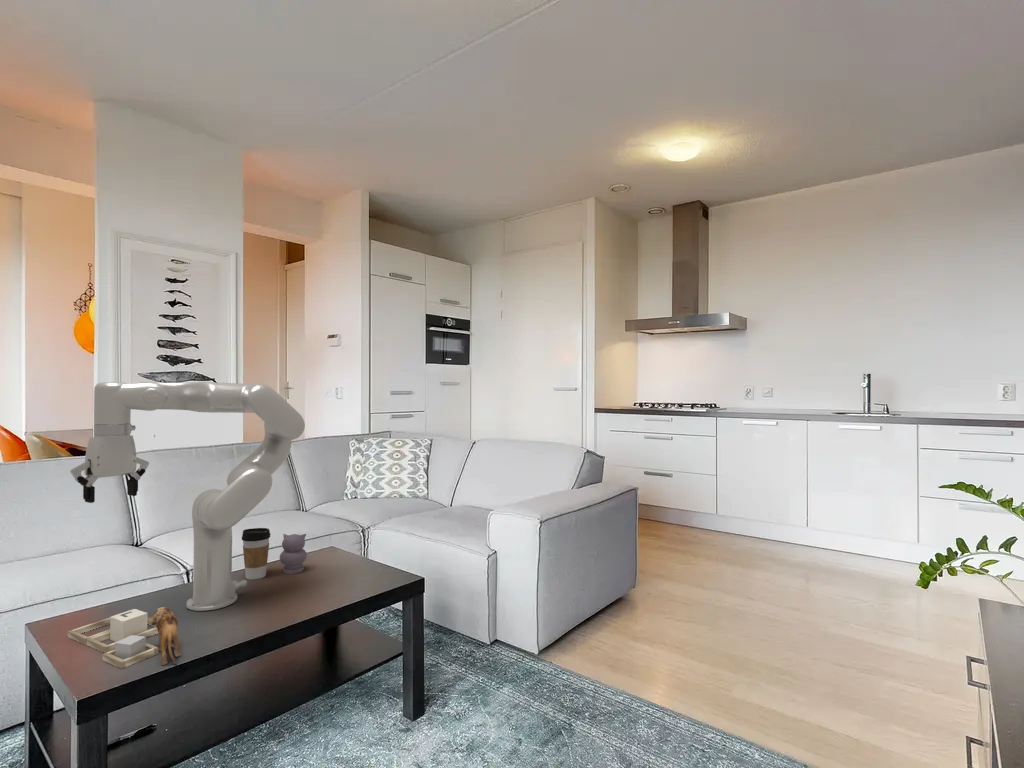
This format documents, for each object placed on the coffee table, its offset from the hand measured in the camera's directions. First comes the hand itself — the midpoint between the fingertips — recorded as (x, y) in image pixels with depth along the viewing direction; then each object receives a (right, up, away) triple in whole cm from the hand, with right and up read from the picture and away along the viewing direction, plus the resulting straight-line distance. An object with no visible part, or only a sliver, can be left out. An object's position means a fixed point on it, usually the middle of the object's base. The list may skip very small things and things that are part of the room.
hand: (111, 498), depth 139 cm
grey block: (+16, -33, -15) cm, 39 cm away
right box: (+1, -32, -2) cm, 32 cm away
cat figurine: (+29, -33, +43) cm, 61 cm away
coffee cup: (+19, -33, +37) cm, 53 cm away
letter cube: (+8, -33, -6) cm, 34 cm away
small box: (+16, -32, -15) cm, 39 cm away
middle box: (+8, -32, -6) cm, 34 cm away
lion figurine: (+22, -33, -14) cm, 42 cm away
